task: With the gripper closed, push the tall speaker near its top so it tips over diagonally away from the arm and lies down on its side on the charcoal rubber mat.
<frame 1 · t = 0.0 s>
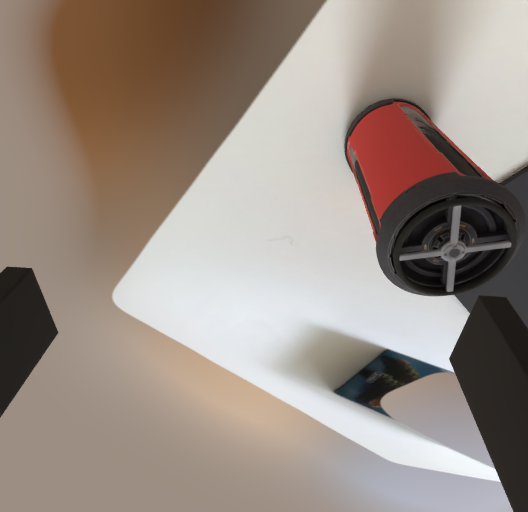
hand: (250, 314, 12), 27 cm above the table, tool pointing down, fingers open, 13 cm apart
speaker: (386, 141, 35), on the table
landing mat: (522, 273, 42), on the table
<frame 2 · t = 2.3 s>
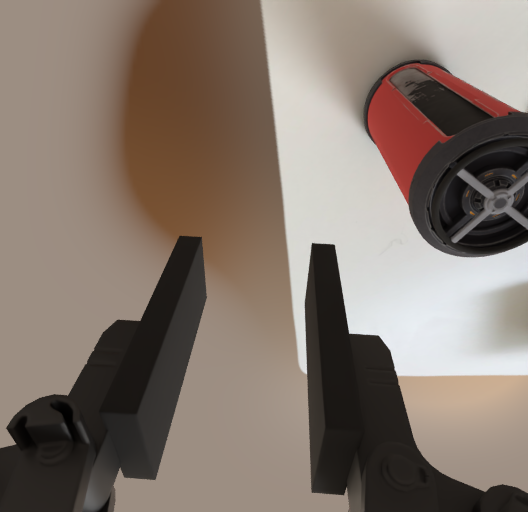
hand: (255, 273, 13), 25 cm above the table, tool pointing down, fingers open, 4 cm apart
speaker: (407, 107, 33), on the table
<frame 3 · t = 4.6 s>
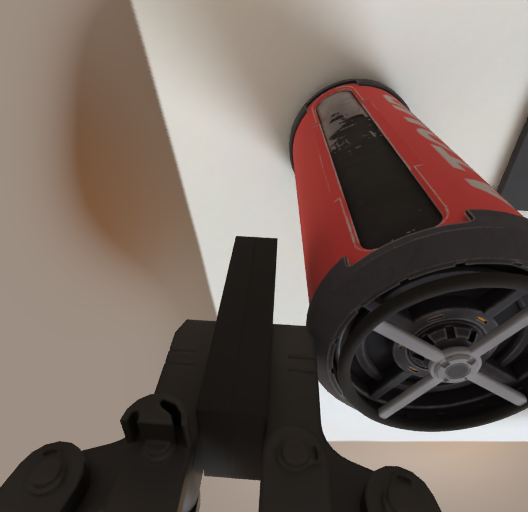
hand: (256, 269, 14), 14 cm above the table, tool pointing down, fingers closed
speaker: (347, 140, 25), on the table, touching gripper
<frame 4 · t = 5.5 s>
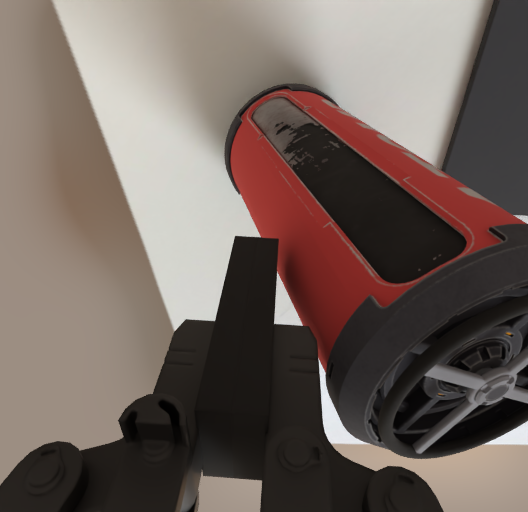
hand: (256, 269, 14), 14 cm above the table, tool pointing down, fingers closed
speaker: (283, 147, 24), point 1 cm above the table, touching gripper
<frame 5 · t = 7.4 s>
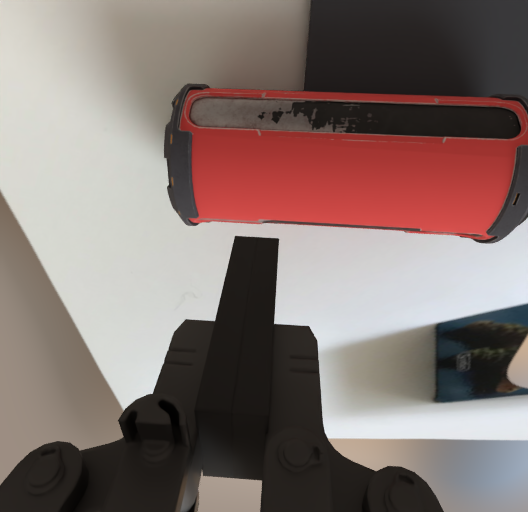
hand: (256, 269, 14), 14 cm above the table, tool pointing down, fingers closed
speaker: (180, 157, 22), point 4 cm above the table, touching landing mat
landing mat: (505, 105, 23), on the table
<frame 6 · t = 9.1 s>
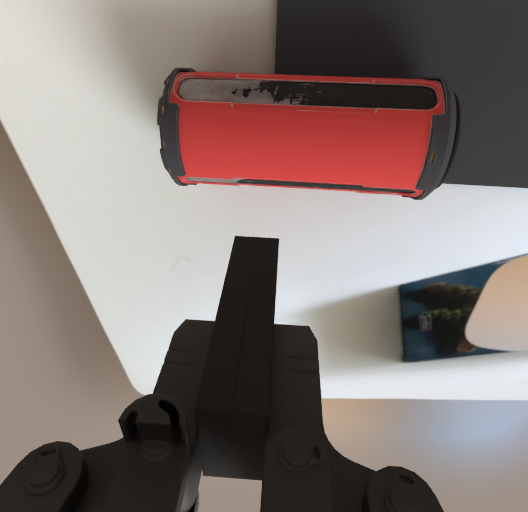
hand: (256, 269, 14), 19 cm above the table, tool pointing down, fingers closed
speaker: (172, 129, 26), point 4 cm above the table, touching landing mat
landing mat: (441, 88, 27), on the table
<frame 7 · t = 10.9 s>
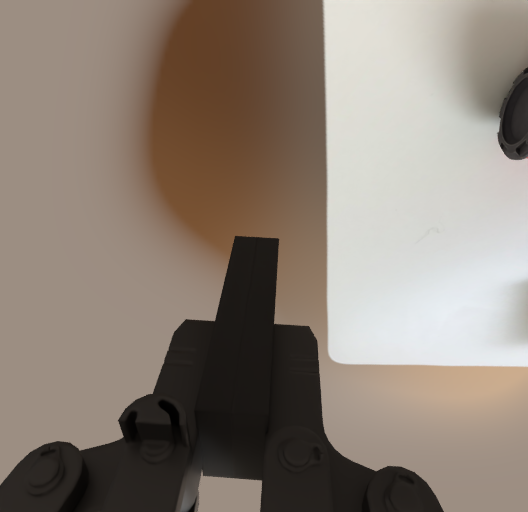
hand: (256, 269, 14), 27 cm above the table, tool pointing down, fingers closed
speaker: (516, 111, 31), point 4 cm above the table, touching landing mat
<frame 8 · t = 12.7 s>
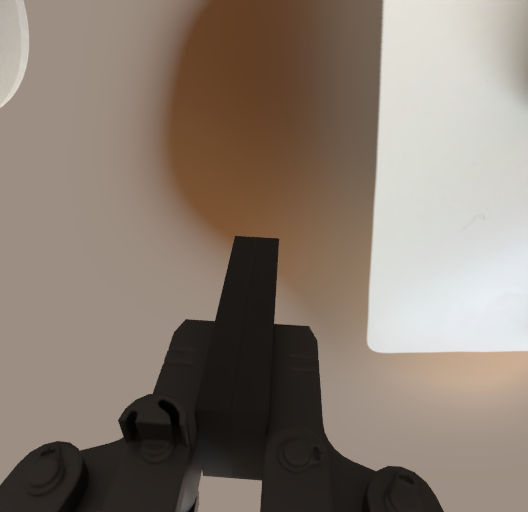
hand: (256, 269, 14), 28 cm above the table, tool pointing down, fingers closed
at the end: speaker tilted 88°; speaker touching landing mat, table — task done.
